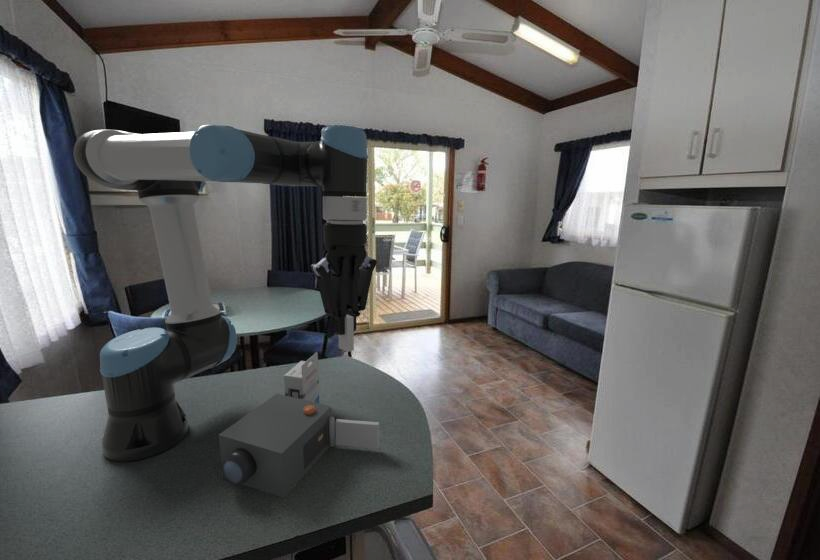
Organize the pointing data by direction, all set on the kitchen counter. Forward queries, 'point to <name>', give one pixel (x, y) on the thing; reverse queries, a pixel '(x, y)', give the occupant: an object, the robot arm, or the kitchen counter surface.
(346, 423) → the side door
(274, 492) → the block
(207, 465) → the kitchen counter surface
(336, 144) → the robot arm
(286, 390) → the ink box
